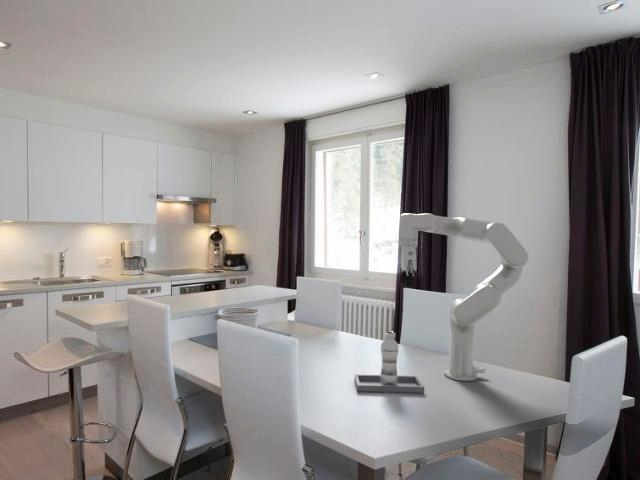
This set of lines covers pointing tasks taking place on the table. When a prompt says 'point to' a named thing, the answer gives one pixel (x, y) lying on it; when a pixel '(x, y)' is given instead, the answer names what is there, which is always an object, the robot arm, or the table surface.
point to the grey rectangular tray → (374, 386)
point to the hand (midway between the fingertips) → (406, 284)
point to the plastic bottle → (389, 360)
